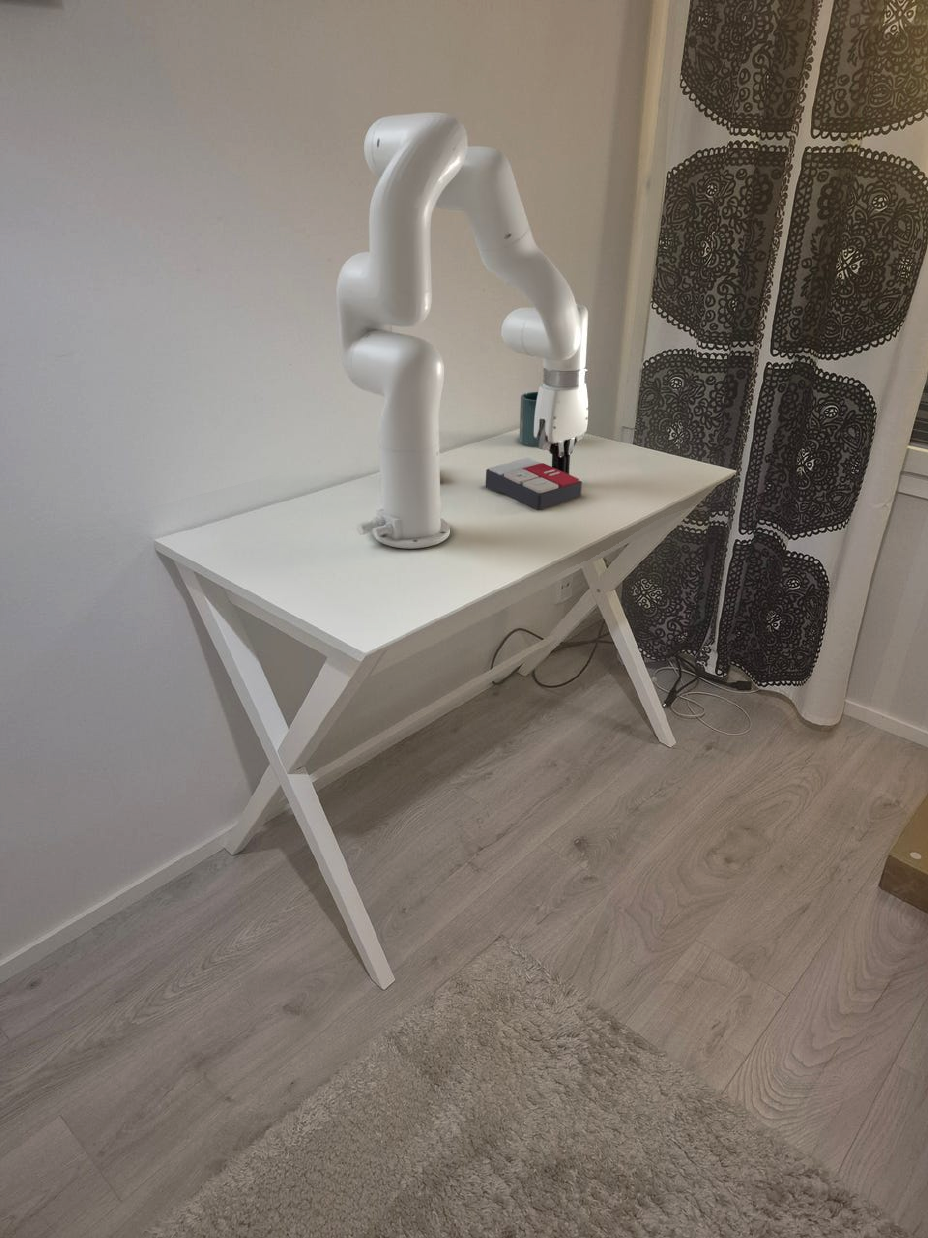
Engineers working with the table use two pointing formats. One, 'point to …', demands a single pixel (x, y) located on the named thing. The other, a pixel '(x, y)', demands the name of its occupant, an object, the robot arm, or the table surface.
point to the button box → (533, 483)
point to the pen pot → (528, 419)
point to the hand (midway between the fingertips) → (560, 473)
